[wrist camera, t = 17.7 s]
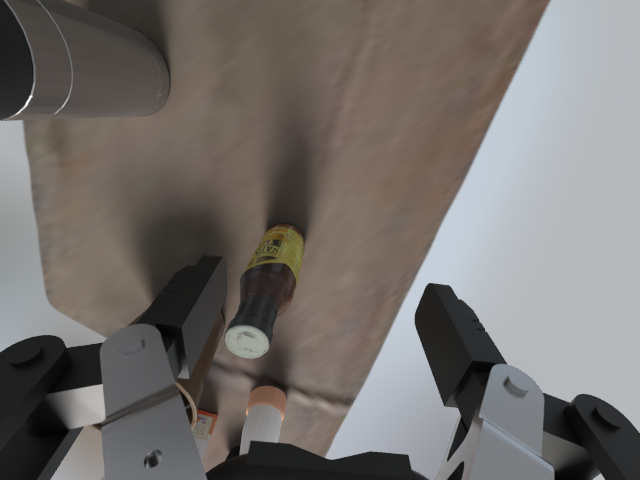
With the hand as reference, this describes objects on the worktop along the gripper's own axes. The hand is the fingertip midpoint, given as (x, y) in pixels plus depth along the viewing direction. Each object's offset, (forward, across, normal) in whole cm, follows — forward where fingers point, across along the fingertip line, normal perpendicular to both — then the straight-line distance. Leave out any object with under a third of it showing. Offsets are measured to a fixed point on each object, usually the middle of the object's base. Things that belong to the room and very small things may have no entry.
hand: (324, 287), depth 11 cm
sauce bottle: (+28, +4, +15) cm, 32 cm away
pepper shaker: (+25, +4, +50) cm, 56 cm away
